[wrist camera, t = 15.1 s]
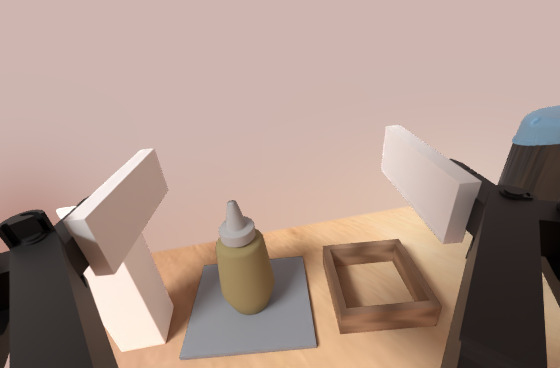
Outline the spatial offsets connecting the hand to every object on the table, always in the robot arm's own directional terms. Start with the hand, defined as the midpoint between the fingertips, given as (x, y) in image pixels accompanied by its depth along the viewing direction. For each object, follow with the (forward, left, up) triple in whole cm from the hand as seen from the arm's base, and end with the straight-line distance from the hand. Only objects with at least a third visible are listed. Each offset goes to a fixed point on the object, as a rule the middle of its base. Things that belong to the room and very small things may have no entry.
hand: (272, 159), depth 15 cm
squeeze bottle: (+6, -14, -30) cm, 33 cm away
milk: (+21, -11, -30) cm, 38 cm away
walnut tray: (-13, -14, -30) cm, 35 cm away
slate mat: (+6, -14, -30) cm, 34 cm away
